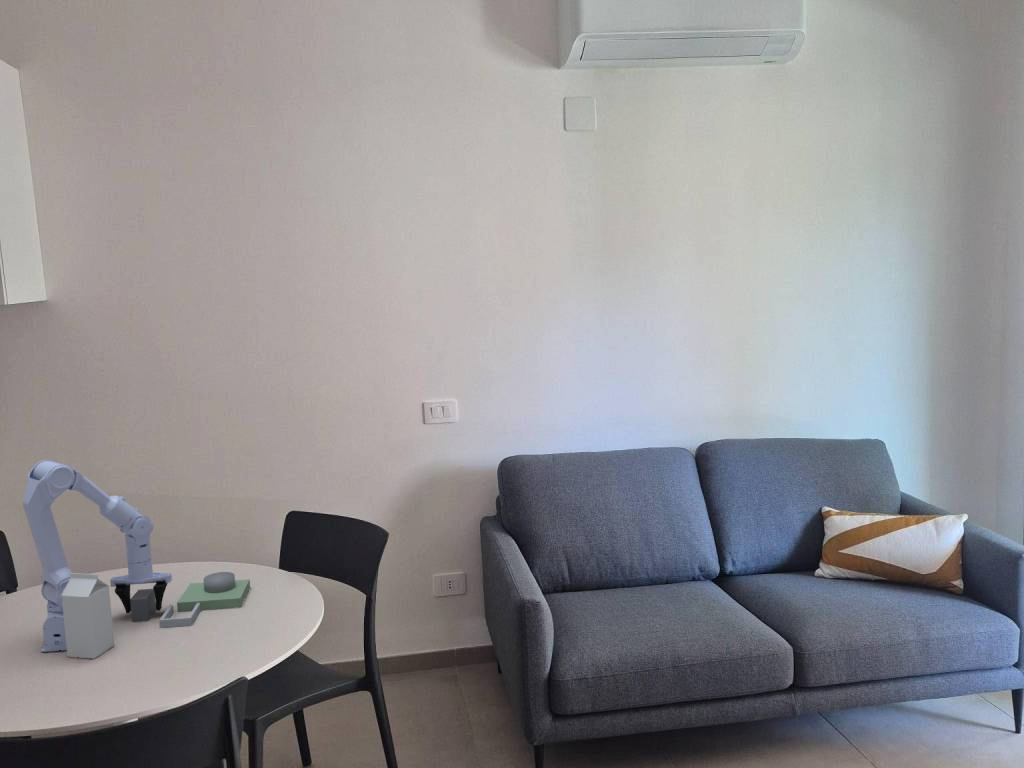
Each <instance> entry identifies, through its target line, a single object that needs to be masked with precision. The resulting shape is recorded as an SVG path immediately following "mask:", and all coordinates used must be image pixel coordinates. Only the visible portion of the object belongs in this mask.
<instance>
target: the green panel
mask: <svg viewBox="0 0 1024 768" xmlns="http://www.w3.org/2000/svg"><path fill="white" fill-rule="evenodd" d="M235 578H236V576H235V574H234V572H231V571H221V572H215V573H210V574H208V575H205V576H204V577H203V582H193V583H192V582H191V583H189V585H188V586H187V587H186V589H185V591H184V592H183V593H182V594H181V596H180V598H179V599H178V601H177V602H176V607H177V608H176V609H177V613H181V612H182V613H183V612H190V613H189V615H188V616H183V617H182V616H181V617H171V616H173V614H174V605H173V604H169V606H168V607H167V608H166V609H165V611H164V612H163V614H162V616H160V618H159V622H158V623H159V629H160V628H161V629H163V628H165V629H166V628H176V627H177V628H178V627H191V626H192V625H193V624H194V622H195V620H196V619H197V617H198V616H199V614H200V612H201V611H210V610H222V609H223V608H225V609H234V608H233V607H239V608H242V606H243V604H244V602H245V600H246V598H247V596H246V595H248V594H247V593H249V592H248V591H250V590H251V580H250V579H248V578H247V579H235ZM249 589H250V590H249ZM245 597H246V598H245ZM244 599H245V600H244ZM243 601H244V602H243ZM242 603H243V604H242ZM241 605H242V606H241ZM221 608H222V609H221ZM223 610H224V609H223Z"/></svg>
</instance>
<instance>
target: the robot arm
mask: <svg viewBox="0 0 1024 768" xmlns="http://www.w3.org/2000/svg"><path fill="white" fill-rule="evenodd" d="M26 477H27V485H26V488H25V492H24V494H23V495H24V496H23V499H22V506H23V511H24V513H25V517H26V519H27V523H28V525H29V529H30V532H31V536H32V538H33V542H34V544H35V548H36V551H37V555H38V557H39V560H40V565H41V568H42V571H43V572H42V575H40V577H41V578H40V579H41V580H42V581H41V582H42V585H41V590H40V592H41V595H42V597H43V599H44V600H46V601H47V604H46V611H47V612H46V614H47V617H46V619H45V621H44V622H43V625H42V632H43V644H44V645H43V647H42V649H40V653H47V652H57V651H58V652H60V651H59V650H61V651H67V645H66V635H65V625H64V616H63V606H62V596H61V595H62V593H63V591H64V589H65V587H66V586H67V584H68V582H69V580H70V578H71V576H70V573H73V571H72V570H71V568H70V567H69V564H68V561H67V558H66V554H65V551H64V548H63V545H62V541H61V539H60V538H61V537H60V534H59V531H58V527H57V525H56V521H55V519H54V515H53V512H52V508H51V507H52V504H53V503H54V502H55V500H56V499H57V498H58V497H59V496H61V495H62V494H63V493H65V492H66V491H67V490H70V491H76V492H78V493H79V494H81V495H82V496H84V498H86V499H88V500H90V501H91V502H92V503H93V504H95V505H97V506H98V507H99V514H100V515H101V516H103V518H105V519H106V520H108V521H109V522H111V523H112V524H113V525H115V526H116V527H117V528H119V530H120V532H121V533H124V534H125V535H124V536H125V537H124V538H125V550H126V561H127V572H128V574H125V575H120V576H119V575H118V576H112V577H111V579H109V581H110V584H109V585H110V587H111V588H115V589H114V593H115V595H116V596H118V598H119V600H120V601H121V603H122V605H123V608H124V610H125V613H126V614H130V613H131V605H130V599H131V585H143V584H154V585H153V586H152V589H154V593H155V600H156V612H160V611H161V610H162V605H163V604H162V603H163V600H164V599H163V598H164V595H165V591H166V588H167V586H168V584H170V583H172V581H173V578H172V576H173V575H172V572H171V573H170V572H168V573H166V572H165V573H164V572H154V571H153V570H154V569H153V562H152V560H153V559H152V548H151V547H152V545H151V534H152V532H153V530H154V523H152V520H151V519H150V518H149V517H148V516H146V515H143V514H140V509H138V507H133V506H131V505H130V504H129V503H127V498H125V497H124V496H118V495H110V496H109V495H108V494H107V493H106V492H105V491H103V490H102V489H101V488H100V487H98V486H97V485H96V484H95V483H94V482H92V481H91V480H90V478H87V477H86V476H85V475H84V474H83V473H82V472H80V471H77V470H75V469H73V468H72V467H71V466H70V465H68V464H63V463H58V462H55V461H54V460H51V459H43V460H39V461H38V462H37V463H35V465H34V466H33V467H32V468H31V469H30V471H29V472H28V473H27V476H26Z"/></svg>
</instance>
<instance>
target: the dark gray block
mask: <svg viewBox="0 0 1024 768" xmlns="http://www.w3.org/2000/svg"><path fill="white" fill-rule="evenodd" d="M130 605H131V611H130V613H131V616H130V617H131V623H137V622H138V623H139V622H149V621H150V620H151V619H152V617H153V616H154V614H155V613H156V612H157V610H156V598H155V593H154V589H153V588H145V589H144V588H141V589H137V590H136V592H135V593H134V594H133V595H132V597H130Z"/></svg>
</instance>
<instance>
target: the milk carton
mask: <svg viewBox="0 0 1024 768" xmlns="http://www.w3.org/2000/svg"><path fill="white" fill-rule="evenodd" d="M70 576H71V578H70V580H69V582H68V584H67V586H66V587H65V589H64V591H63V593H62V595H61V596H62V606H63V616H64V625H65V635H66V645H67V650H66V654H67V657H68V658H77V657H79V658H80V659H90V658H91V659H92V660H93V659H95V658H98V657H100V656H101V655H102V654H104V653H105V652H107V651H108V650H111V648H113V647H114V646H115V639H114V627H113V618H112V608H111V606H112V605H111V596H110V594H111V593H110V584H107V583H106V582H103V581H102V580H100V579H99V577H98V576H99V575H98V574H97V573H96V574H95V573H94V574H93V573H79V572H72V573H70Z"/></svg>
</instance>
